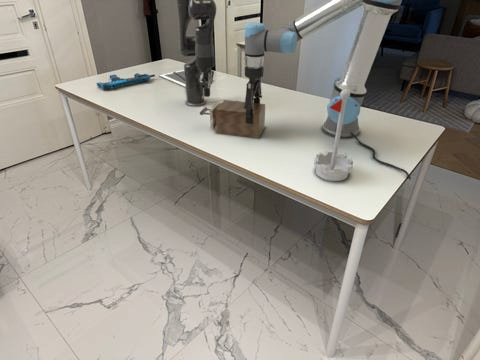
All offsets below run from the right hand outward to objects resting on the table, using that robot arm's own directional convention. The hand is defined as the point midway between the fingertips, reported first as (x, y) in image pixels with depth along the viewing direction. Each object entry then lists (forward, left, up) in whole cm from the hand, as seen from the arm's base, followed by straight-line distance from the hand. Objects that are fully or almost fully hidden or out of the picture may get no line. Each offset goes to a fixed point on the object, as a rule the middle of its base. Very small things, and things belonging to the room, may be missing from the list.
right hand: (253, 117), depth 146 cm
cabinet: (+4, +4, -7) cm, 8 cm away
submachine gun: (+98, +38, -7) cm, 106 cm away
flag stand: (-43, -10, -7) cm, 44 cm away
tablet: (+89, +2, -7) cm, 89 cm away
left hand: (+14, +15, +8) cm, 22 cm away
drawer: (+8, +9, -6) cm, 13 cm away
